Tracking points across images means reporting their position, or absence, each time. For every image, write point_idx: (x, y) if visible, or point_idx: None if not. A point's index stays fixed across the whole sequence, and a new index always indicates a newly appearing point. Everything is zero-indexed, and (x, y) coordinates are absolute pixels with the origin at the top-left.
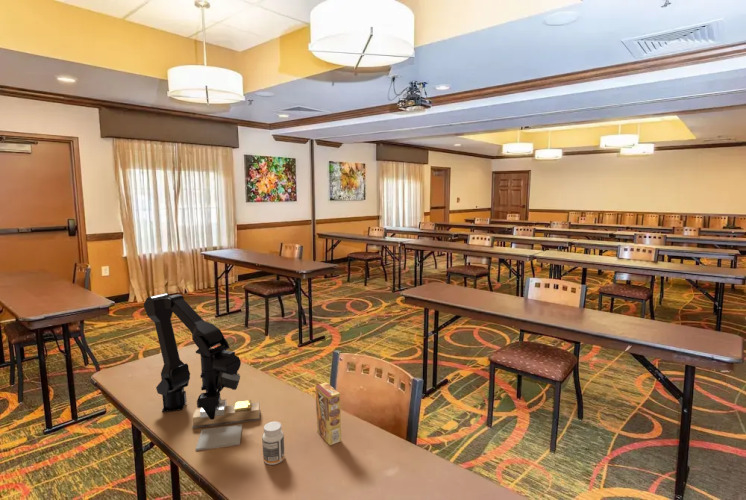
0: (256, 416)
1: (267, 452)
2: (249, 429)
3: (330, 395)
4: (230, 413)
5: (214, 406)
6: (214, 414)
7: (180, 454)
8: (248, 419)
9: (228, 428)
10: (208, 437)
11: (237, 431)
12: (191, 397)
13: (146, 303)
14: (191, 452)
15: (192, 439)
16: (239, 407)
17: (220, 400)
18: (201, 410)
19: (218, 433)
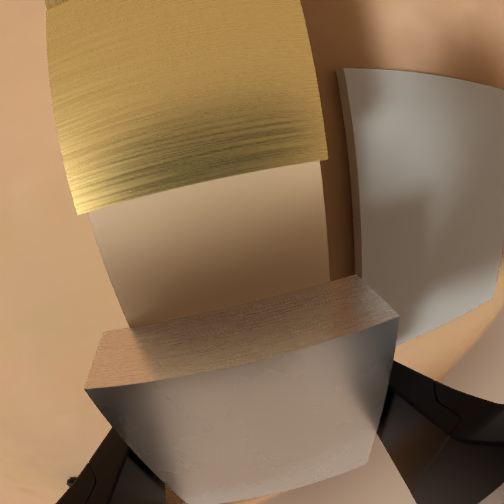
0: None
1: None
2: (378, 19)
3: None
4: (320, 208)
5: (491, 412)
6: (397, 363)
7: (479, 336)
8: None
9: (391, 179)
10: (446, 282)
11: (432, 100)
12: (36, 466)
13: None
14: (486, 304)
15: (411, 354)
16: (290, 78)
17: (138, 436)
18: (348, 469)
19: (430, 237)
